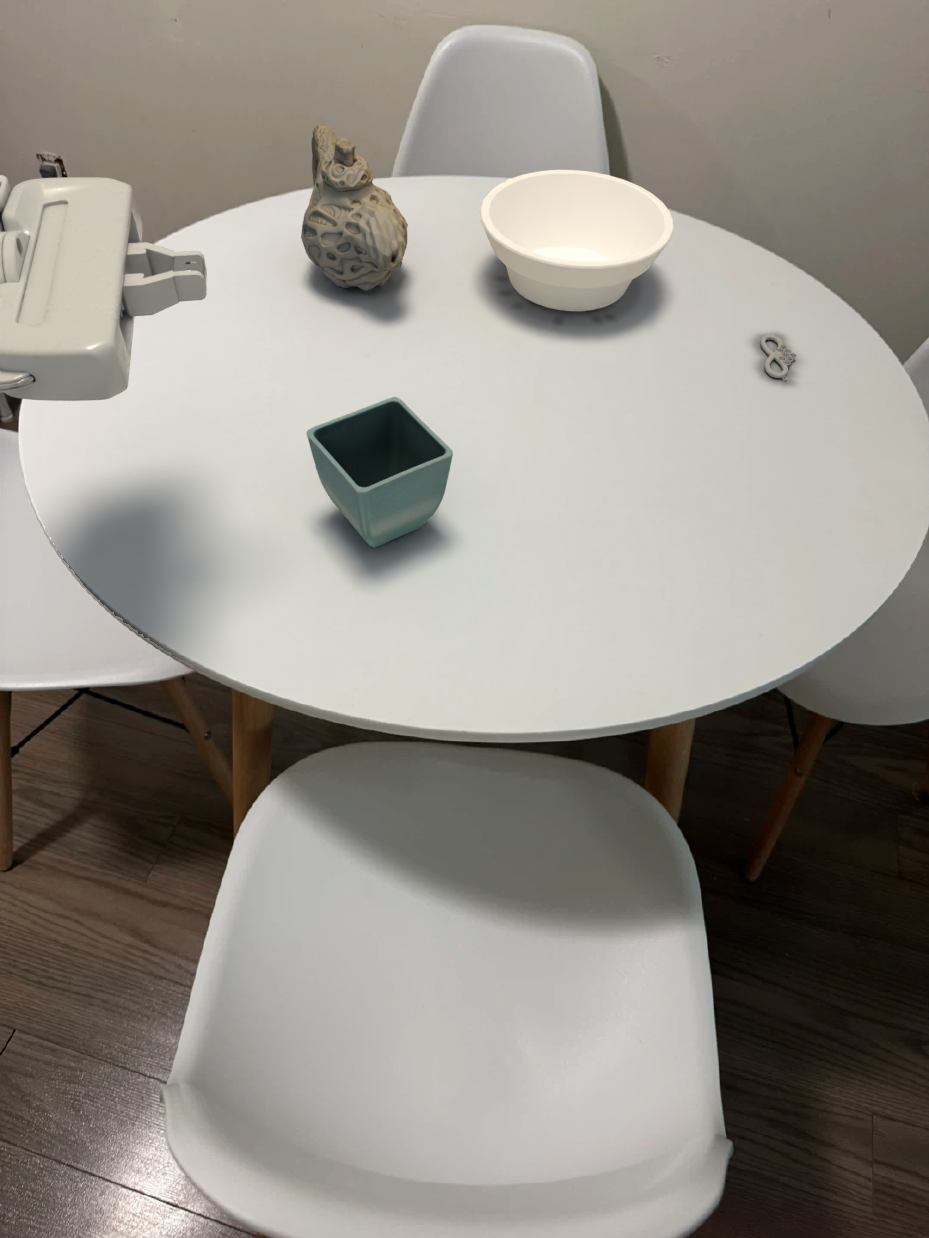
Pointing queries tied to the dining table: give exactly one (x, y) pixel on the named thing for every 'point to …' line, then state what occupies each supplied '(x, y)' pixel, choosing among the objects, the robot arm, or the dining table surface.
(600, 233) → the bowl
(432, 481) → the flower pot
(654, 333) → the dining table surface
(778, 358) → the charm
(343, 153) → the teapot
